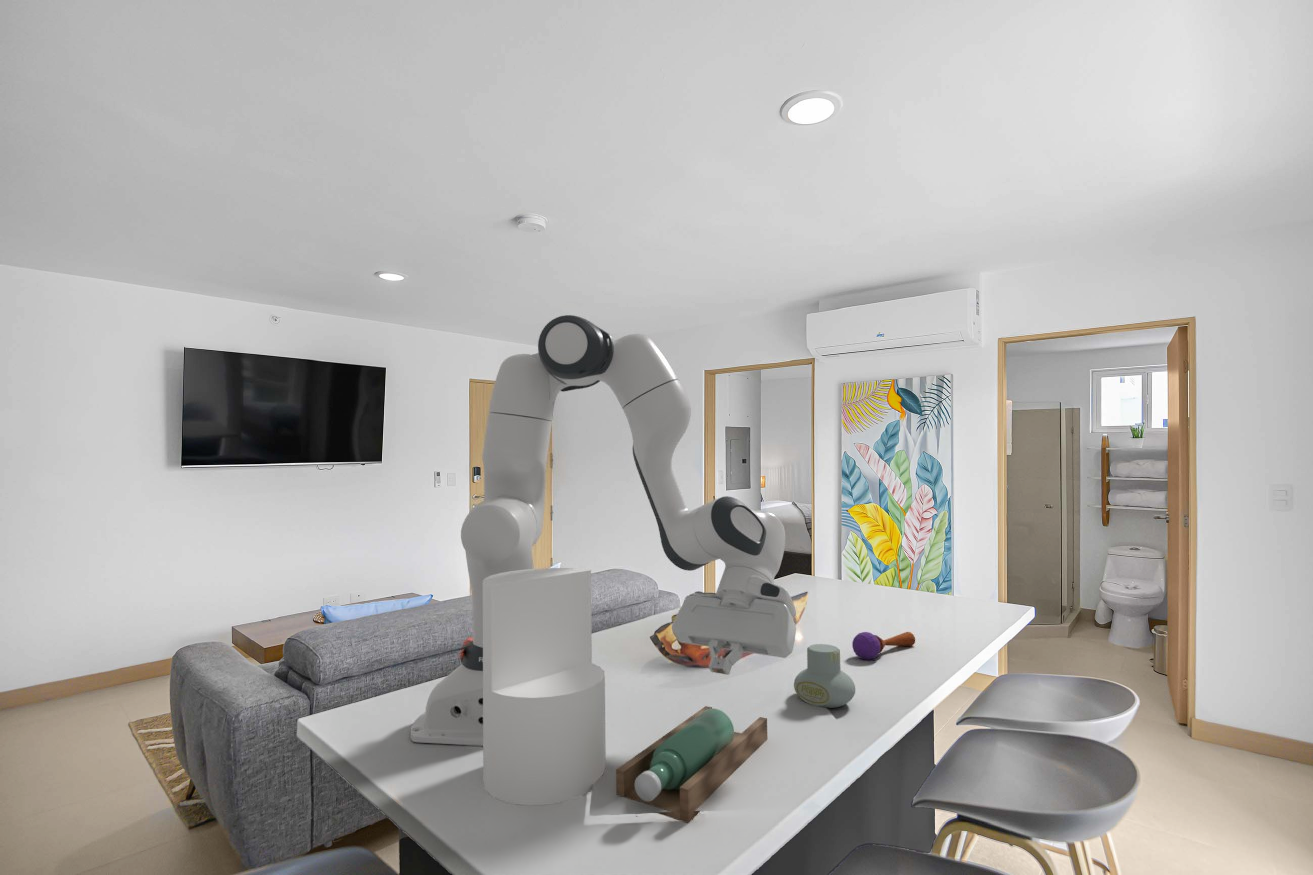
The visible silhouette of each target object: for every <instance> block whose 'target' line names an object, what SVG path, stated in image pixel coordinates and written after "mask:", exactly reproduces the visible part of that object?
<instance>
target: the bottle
mask: <svg viewBox="0 0 1313 875" xmlns="http://www.w3.org/2000/svg"><path fill="white" fill-rule="evenodd" d="M734 732H735V728H734V725H733V722H732V720H731V718H730V717H729V716H728V715H727V714H726V713H725V712H724V711H722V710H720V709H718V708H712V709H707V710H705V711H704V712H703V713H701V714H700V715H699V716H697V717H696V718H695V719H693V720H692V721H691V722H689V723H688V724H687V725H686V726H684V727H683V728H682V729H680V730H679V731H678V732H676V733H675V734H674V735H672V736H671V737H670V738H668V739H667V740H666V741H664V742H663V743H662V744H660V745H659V746H658V747H657V748H656V749H655V751H654V754H653V759H652V761H651V764H650V769H649V770H648V771H644V772H643V773H642V774H640V775H639V776H638V777H637V778H636V780H635V790H636V793H637V795H638V796H639V797H640V798H641V799H642V800H644V801H652V800H653V799H654V798H656V797H657V796H658V795H659V794H660V792H661V790H662V789H666V790H670V789H680V787H681V786H682V785H683V784H684V783H685V782H686V781H688V780H689V779H690V778H691V777H692V776H693V775H694V774H696V773H697V772H698V771H699V770H700V769H701V768H702V767H704V766H705V765H706V764H707V763H708V762H709V761H710V760H711V759H713V758H714V757H715V756H716V755H717V754H718V753H719V752H721V751H722V750H723V749H724V748H725V747H726V746H727V745H729V744H730V743H731V742H732V741H733V738H734Z"/></svg>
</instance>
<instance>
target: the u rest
mask: <svg viewBox="0 0 1313 875" xmlns="http://www.w3.org/2000/svg"><path fill="white" fill-rule="evenodd" d="M707 709H713V707H712V706H707V705H704V707H702V708H701V709H700V710H698V711H696V713H694V714H692V715H691V716H690V717H688V718H687V719H685V720H684V721H682V722H681V723H679V724H678V725H677V726H676V727H675V728H673V729H671V730H670V731H668V732H667V733H665V734H664V735H663V736H661V737H659V738H658V739H657V740H656V741H654V742H653V743H651V744H650V745H648V746H647V747H646V748H645V749H643V750H642V751H641V752H638V754H636V755H634V757H632V758H631V759H629V760H628V761H626V762H625V763H624V764H622V765H621V766H619V767H617V769H616V770H615V775H616V776H615V783H616V784H615V785H616V786H615V789H616V795H617V796H619V797H621V798H626V799H629V800H632V801H635V802H638V803H639V802H640V803H642V804H645V805H649V806H652V807H656V808H659V809H662V810H665V811H661V812H660V811H658V812H655V811H654V812H655V813H656V814H659V815H662V816H665V817H669V818H670V819H671V818H672V819H675V820H678V821H681V822H685V823H687V824H690V822H691V821H693V820H694V819H695V817H696V816H698V815H699V813H700V812H701V810H697V809H698V808H699V807H700V806H701V805H702V804H703V803H704V802H705V801H707V799H708V798H710V797H711V796H712V794H713V793H715V791H717V789H719V788H720V787H721V786H722V785H723V784H724V783H725V782H726V781H727V780H728V779H729V777H731V776H732V775H733V774H734V773H735V772H736V771H737V770H738V769H739V768H740V767H741V766H743V764H745V762H746V761H747V760H749V758H751V756H752V755H753V754H754V753H755V752H756V751H758V749H759V748H761V746H762V745H763V744H765V743H766V742H767V741H768V718H766V717H761V716H759V717H758V718H756V720H755V721H754V722H752V723H751V724H750V725H749V726H748V727H747V728H746V729H744V730H743V731H741V733H740V732H737V731H734V738H733V741H732V742H731V743H730V744H729V745H727V746H726V747H725V748H724V749H723V750H722V751H721V752H719V753H718V754H717V755H716V756H715V757H714V758H713V759H711V760H710V761H709V762H708V763H707V764H706V765H705V766H704V767H702V768H701V769H700V770H699V771H698V772H697V773H696V774H694V775H693V776H692V777H691V778H690V779H689V780H688V781H686V782H685V783H684V784H683V785H682V786H681V787H680V789H670V790H666V789H662V790H661V792H660V794H659V795H658V796H657V797H656V798H654V799H653V800H652V801H644V800H642V799H641V798H640V797H639V796H638V795H637V793H636V790H635V780H636V778H637V777H638V776H639V775H640V774H642V773H643V772H644V771H648V770H649V769H650V764H651V761H652V759H653V754H654V751H655V749H656V748H657V747H658V746H659V745H660V744H662V743H663V742H664V741H666V740H667V739H668V738H670V737H671V736H672V735H674V734H675V733H676V732H678V731H679V730H680V729H682V728H683V727H684V726H686V725H687V724H688V723H689V722H691V721H692V720H693V719H695V718H696V717H697V716H699V715H700V714H701V713H703V712H704V711H705V710H707Z"/></svg>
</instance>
